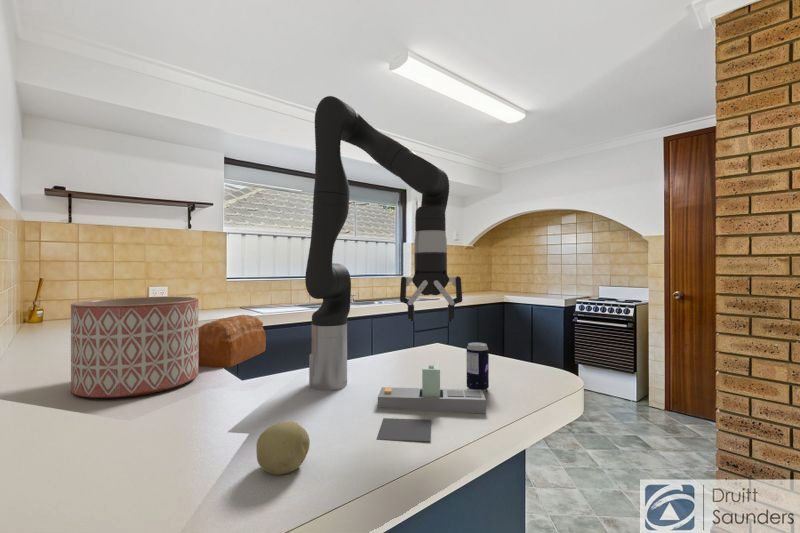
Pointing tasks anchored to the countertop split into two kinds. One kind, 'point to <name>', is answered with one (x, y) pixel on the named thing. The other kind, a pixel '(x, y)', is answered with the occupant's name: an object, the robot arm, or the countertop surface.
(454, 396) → the strip
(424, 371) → the block
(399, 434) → the mat
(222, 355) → the bread
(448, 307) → the robot arm
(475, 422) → the countertop surface
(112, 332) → the planter
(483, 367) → the beverage can
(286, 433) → the potato
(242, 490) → the countertop surface
